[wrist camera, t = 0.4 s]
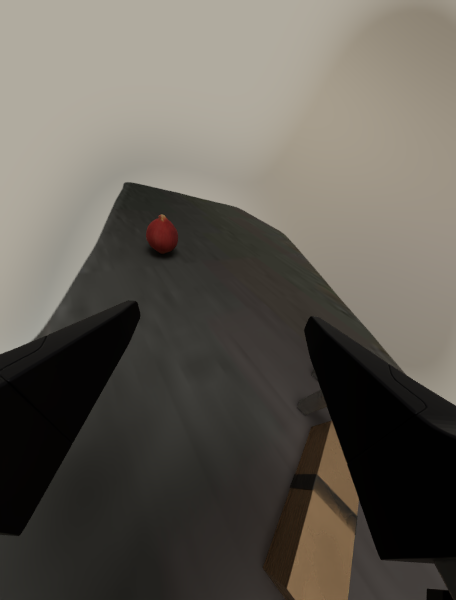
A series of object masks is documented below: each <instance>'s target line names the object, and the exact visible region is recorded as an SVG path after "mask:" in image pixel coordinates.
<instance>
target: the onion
mask: <svg viewBox="0 0 456 600" xmlns="http://www.w3.org/2000/svg"><path fill="white" fill-rule="evenodd" d="M146 237H147V241H148V243H149V244H150V246H151V247H152V248H153V249H155V250H156V251H158V252H159V253H161V254H164V253H167V252H170V251H172V250H173V249H174V248H175V247H176V245H177V242H178V233H177V230H176V228H175V227H174V225H173V224H172V223H171V222H170V221H169V220H168V219H167V218H166V217H165V216H164V215H160V216H159V218H158V219H156V220H154V221H153V222H151V224H150V225H149V226H148V228H147V233H146Z"/></svg>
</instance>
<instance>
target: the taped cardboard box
mask: <svg viewBox="0 0 456 600" xmlns="http://www.w3.org/2000/svg"><path fill="white" fill-rule="evenodd" d="M347 464H348V463H347V462H346V460H345V457H344V454H343V451H342V448H341V445H340V443H339V440H338V437H337V434H336V431H335V428H334V425H333V422H332V421H329V422H326V423H323V424H319V425H316V426H313V427H311V430H310V433H309V436H308V439H307V442H306V444H305V447H304V450H303V453H302V456H301V459H300V462H299V465H298V468H297V471H296V473H295V475H294V478H293V480H292V483H291V486H290V491H289V494H288V497H287V500H286V502H285V505H284V508H283V511H282V514H281V517H280V520H279V523H278V526H277V529H276V531H275V534H274V537H273V540H272V543H271V546H270V549H269V552H268V555H267V558H266V560H265V563H264V566H263V569H264V570H265V572H266V573H267V574H268V576H269V577H270V578H271V580H272V581H273V583H274V584H275V585H276V587H277V588H278V589H279V591H280V592H281V594H282V595H283V596H284V598H285V599H286V600H348V593H349V583H350V574H351V565H352V556H353V547H354V538H355V535H356V525H357V510H358V501H359V498H358V495H357V492H356V489H355V486H354V483H353V481H352V478H351V475H350V472H349V469H348V466H347Z"/></svg>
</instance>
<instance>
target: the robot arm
mask: <svg viewBox="0 0 456 600" xmlns="http://www.w3.org/2000/svg"><path fill="white" fill-rule="evenodd" d="M139 319H140V311H139V307H138V303H137V302H136V301H126V302H123V303H121V304H119V305H116V306H114V307H112V308H109V309H107V310H105V311H102V312H100V313H98V314H95V315H93V316H91V317H88V318H86V319H84V320H81V321H79V322H77V323H74V324H72V325H70V326H67V327H65V328H63V329H60V330H58V331H56V332H53V333H51V334H49V335H48V336H44V337H42V338H39V339H37V340H35V341H32V342H30V343H27V344H25V345H23V346H21V347H18V348H15V349H13V350H11V351H8V352H5V353H3V354H0V535H13V536H19V535H20V534H21V533H22V531H23V530H24V528H25V527H26V525H27V523H28V521H29V520H30V518H31V516H32V514H33V513H34V511H35V509H36V507H37V505H38V504H39V502H40V500H41V498H42V497H43V495H44V493H45V491H46V490H47V488H48V486H49V484H50V483H51V481H52V479H53V477H54V475H55V474H56V472H57V470H58V468H59V467H60V465H61V463H62V461H63V460H64V458H65V456H66V454H67V453H68V451H69V449H70V447H71V445H72V443H73V442H74V440H75V438H76V436H77V435H78V433H79V431H80V429H81V427H82V426H83V424H84V422H85V420H86V419H87V417H88V415H89V413H90V412H91V410H92V408H93V406H94V405H95V403H96V401H97V399H98V397H99V396H100V394H101V392H102V390H103V389H104V387H105V385H106V383H107V382H108V380H109V378H110V376H111V375H112V373H113V371H114V369H115V367H116V366H117V364H118V362H119V360H120V359H121V357H122V355H123V353H124V352H125V350H126V348H127V346H128V344H129V342H130V340H131V338H132V336H133V333H134V331H135V328H136V326H137V324H138V321H139ZM304 332H305V337H306V341H307V346H308V350H309V355H310V358H311V362H312V365H313V367H314V370H315V373H316V376H317V379H318V382H319V385H320V388H321V391H322V393H323V396H324V399H325V402H326V405H327V408H328V411H329V414H330V417H331V419H332V422H333V425H334V428H335V431H336V434H337V437H338V440H339V443H340V445H341V448H342V451H343V454H344V457H345V460H346V462H347V463H348V464H347V466H348V469H349V472H350V475H351V478H352V481H353V483H354V486H355V489H356V492H357V495H358V498H359V501H360V504H361V506H362V509H363V512H364V515H365V518H366V521H367V524H368V527H369V530H370V532H371V535H372V538H373V541H374V544H375V547H376V550H377V552H378V555H379V557H380V559H381V560H388V561H403V562H418V563H433V564H435V566H436V568H437V570H438V572H439V573H440V575H441V577H442V579H443V581H444V583H445V585H446V587H447V589H448V590H439V589H427V600H456V406H455V405H454V404H452V403H450V402H449V401H447V400H445V399H444V398H442V397H440V396H439V395H437V394H435V393H434V392H432V391H431V390H429V389H427V388H426V387H424V386H423V385H421V384H419V383H418V382H416V381H414V380H413V379H411V378H410V377H408V376H407V375H405V374H404V373H402V372H401V371H399V370H398V369H396V368H395V367H393V366H392V365H390V364H388V363H387V362H386V361H384V360H383V359H381V358H380V357H378V356H377V355H375V354H374V353H372V352H371V351H369V350H368V349H366V348H365V347H363V346H362V345H360V344H359V343H357V342H356V341H354V340H353V339H351V338H350V337H348V336H347V335H345V334H344V333H342V332H341V331H339V330H338V329H336V328H335V327H333V326H332V325H330V324H329V323H327V322H326V321H324V320H323V319H321V318H320V317H314V316H311V317H310V318H309V319H308V322H307V324H306V326H305V329H304Z"/></svg>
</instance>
